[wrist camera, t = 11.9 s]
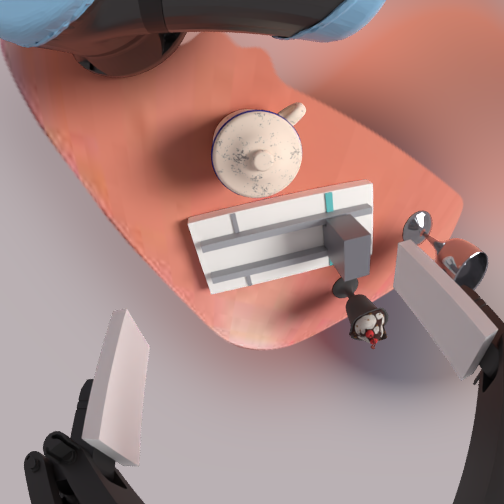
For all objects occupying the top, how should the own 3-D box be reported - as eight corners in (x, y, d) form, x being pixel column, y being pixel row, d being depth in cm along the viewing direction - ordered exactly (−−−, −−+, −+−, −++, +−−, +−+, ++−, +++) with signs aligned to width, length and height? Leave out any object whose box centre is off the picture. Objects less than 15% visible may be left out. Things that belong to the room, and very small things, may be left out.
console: (188, 217, 39) (186, 228, 36) (366, 179, 39) (378, 186, 36) (211, 286, 45) (211, 300, 42) (366, 248, 46) (376, 259, 43)
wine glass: (410, 256, 48) (458, 306, 35) (394, 230, 45) (447, 281, 32) (438, 227, 46) (490, 271, 33) (424, 199, 43) (484, 241, 30)
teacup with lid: (245, 189, 38) (260, 227, 28) (195, 143, 34) (189, 163, 24) (312, 129, 35) (352, 145, 25) (265, 77, 31) (291, 70, 21)
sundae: (325, 278, 48) (362, 343, 35) (361, 266, 47) (405, 325, 35) (329, 305, 51) (361, 369, 38) (362, 294, 51) (400, 352, 38)
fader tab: (321, 214, 39) (344, 240, 32) (345, 209, 39) (371, 234, 32) (324, 251, 42) (344, 281, 35) (346, 245, 42) (369, 274, 36)
